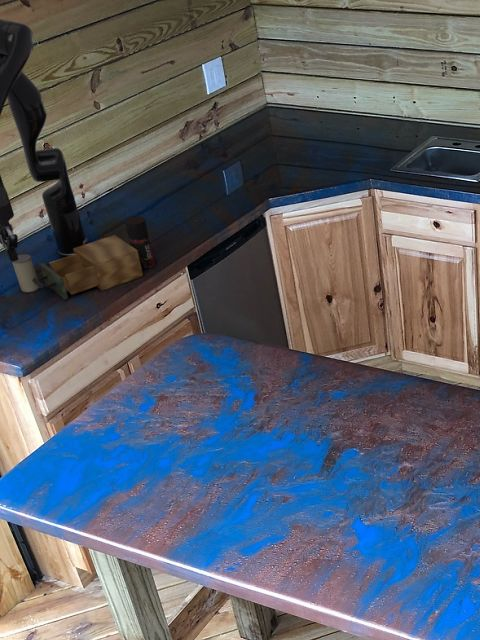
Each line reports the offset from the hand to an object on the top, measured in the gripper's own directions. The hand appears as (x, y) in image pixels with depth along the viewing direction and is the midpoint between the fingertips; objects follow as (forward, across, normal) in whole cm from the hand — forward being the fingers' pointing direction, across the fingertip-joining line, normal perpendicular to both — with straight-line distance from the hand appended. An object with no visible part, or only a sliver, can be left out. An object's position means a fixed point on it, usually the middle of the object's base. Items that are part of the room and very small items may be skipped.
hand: (13, 260), depth 259 cm
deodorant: (+15, +1, -38) cm, 41 cm away
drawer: (+14, +2, -13) cm, 19 cm away
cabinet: (+15, +2, -27) cm, 31 cm away
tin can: (+15, +12, -5) cm, 20 cm away
